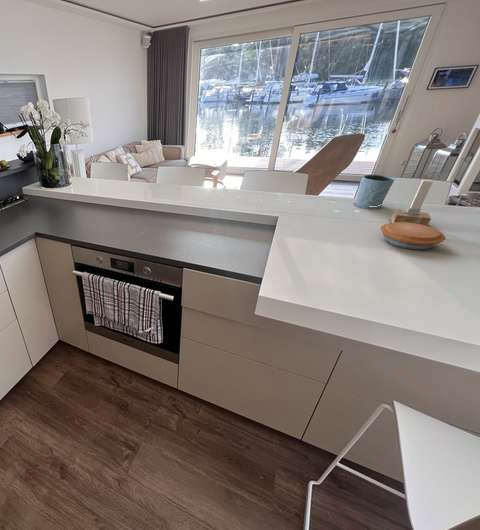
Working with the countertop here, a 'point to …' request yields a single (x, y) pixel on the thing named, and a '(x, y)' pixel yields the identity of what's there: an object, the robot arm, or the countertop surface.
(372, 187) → the blue gray cup
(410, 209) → the knife
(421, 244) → the pie
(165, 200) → the countertop surface
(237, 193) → the countertop surface
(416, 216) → the knife stand
